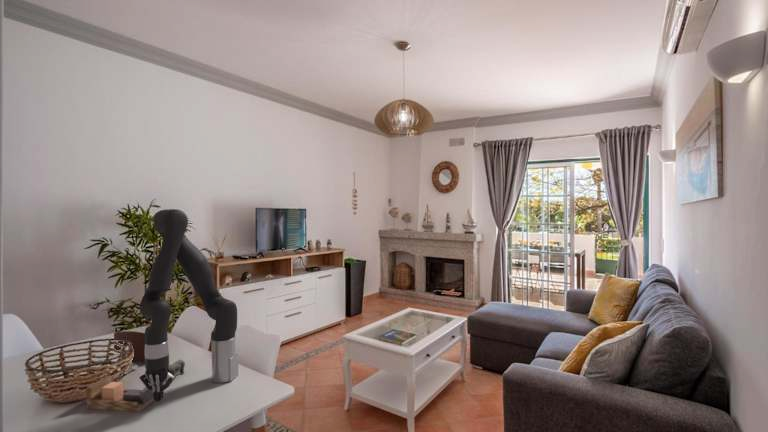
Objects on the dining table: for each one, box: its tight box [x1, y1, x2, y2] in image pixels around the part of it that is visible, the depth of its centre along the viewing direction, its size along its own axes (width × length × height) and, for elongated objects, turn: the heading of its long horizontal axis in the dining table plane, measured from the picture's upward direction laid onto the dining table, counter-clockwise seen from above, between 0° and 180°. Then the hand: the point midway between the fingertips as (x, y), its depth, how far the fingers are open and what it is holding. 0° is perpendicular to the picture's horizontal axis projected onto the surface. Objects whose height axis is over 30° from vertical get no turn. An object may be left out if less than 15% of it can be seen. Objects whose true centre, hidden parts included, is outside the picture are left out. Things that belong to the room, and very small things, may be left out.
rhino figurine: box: [165, 359, 186, 381], centre depth 165 cm, size 4×14×6 cm, turn 165°
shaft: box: [123, 386, 153, 404], centre depth 145 cm, size 8×4×4 cm, turn 83°
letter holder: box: [113, 330, 145, 364], centre depth 185 cm, size 10×20×14 cm, turn 80°
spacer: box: [102, 381, 124, 401], centre depth 146 cm, size 4×4×6 cm
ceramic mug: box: [109, 354, 138, 375], centre depth 170 cm, size 11×8×8 cm
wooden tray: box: [85, 375, 155, 413], centre depth 145 cm, size 20×9×8 cm, turn 83°
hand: (158, 400), depth 144 cm, fingers closed
